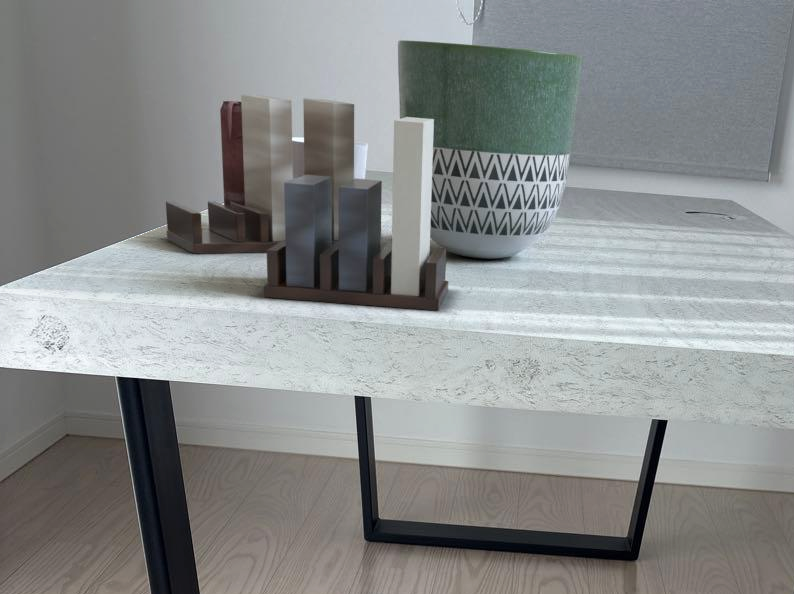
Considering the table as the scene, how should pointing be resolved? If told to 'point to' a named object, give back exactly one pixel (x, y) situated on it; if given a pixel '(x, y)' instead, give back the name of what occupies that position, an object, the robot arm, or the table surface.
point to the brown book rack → (271, 176)
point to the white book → (411, 204)
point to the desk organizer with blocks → (342, 250)
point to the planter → (492, 139)
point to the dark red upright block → (232, 152)
